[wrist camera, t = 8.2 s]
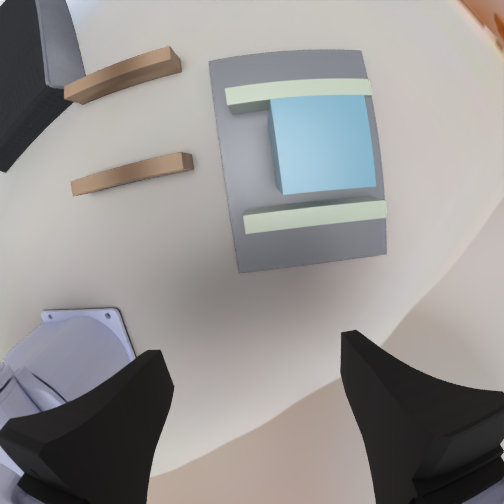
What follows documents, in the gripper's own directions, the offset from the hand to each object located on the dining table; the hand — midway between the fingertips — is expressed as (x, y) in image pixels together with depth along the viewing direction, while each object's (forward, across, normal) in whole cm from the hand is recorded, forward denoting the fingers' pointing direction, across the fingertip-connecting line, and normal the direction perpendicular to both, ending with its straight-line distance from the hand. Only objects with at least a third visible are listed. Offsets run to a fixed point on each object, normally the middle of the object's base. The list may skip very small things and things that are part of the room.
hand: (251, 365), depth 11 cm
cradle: (+9, +7, -12) cm, 17 cm away
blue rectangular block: (+8, -4, -8) cm, 12 cm away
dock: (+9, -4, -8) cm, 13 cm away
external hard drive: (+10, +19, -23) cm, 32 cm away
